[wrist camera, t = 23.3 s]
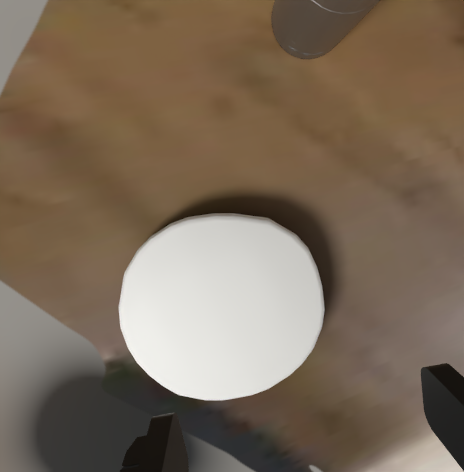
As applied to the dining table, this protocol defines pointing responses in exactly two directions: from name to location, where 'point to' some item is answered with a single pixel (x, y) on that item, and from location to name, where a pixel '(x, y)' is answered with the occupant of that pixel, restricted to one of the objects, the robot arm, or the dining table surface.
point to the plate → (221, 305)
